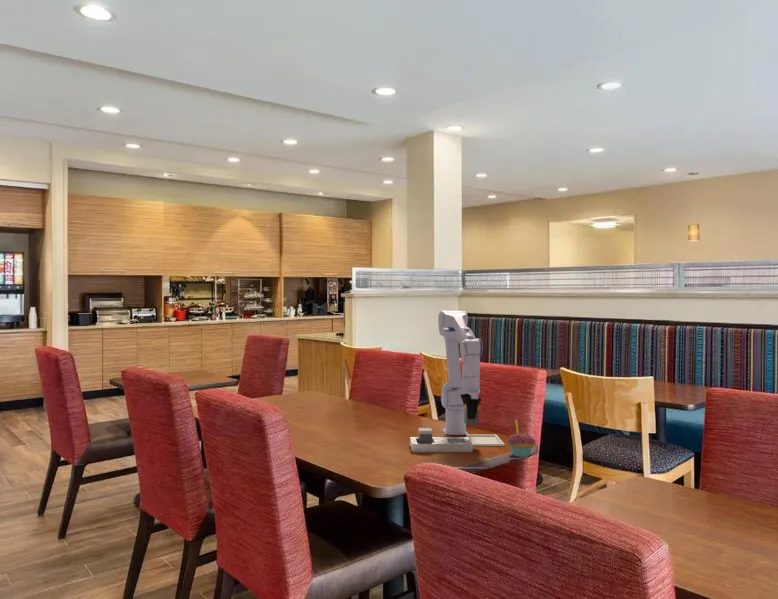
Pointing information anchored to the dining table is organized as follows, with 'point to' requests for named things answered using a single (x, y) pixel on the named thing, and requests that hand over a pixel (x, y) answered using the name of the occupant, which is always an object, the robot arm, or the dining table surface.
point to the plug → (470, 421)
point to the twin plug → (424, 435)
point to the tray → (485, 440)
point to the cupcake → (521, 443)
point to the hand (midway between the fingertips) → (470, 417)
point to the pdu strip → (442, 445)
